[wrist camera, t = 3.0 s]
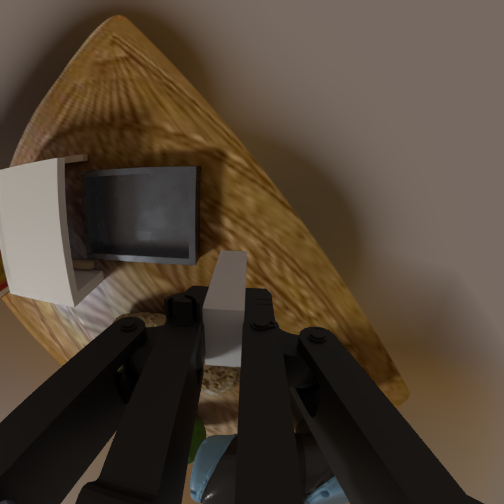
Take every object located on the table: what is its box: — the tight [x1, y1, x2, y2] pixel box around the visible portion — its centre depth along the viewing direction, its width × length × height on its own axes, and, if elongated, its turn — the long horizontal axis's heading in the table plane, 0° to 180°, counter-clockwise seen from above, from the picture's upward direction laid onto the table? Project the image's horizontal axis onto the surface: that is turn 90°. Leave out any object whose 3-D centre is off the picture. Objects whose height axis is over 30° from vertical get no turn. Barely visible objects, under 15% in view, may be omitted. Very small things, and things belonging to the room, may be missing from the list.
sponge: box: [113, 312, 241, 396], centre depth 38 cm, size 13×8×20 cm
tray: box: [81, 166, 201, 265], centre depth 33 cm, size 16×12×3 cm
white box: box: [0, 154, 104, 307], centre depth 30 cm, size 14×19×9 cm
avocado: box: [188, 417, 206, 464], centre depth 41 cm, size 8×8×12 cm
